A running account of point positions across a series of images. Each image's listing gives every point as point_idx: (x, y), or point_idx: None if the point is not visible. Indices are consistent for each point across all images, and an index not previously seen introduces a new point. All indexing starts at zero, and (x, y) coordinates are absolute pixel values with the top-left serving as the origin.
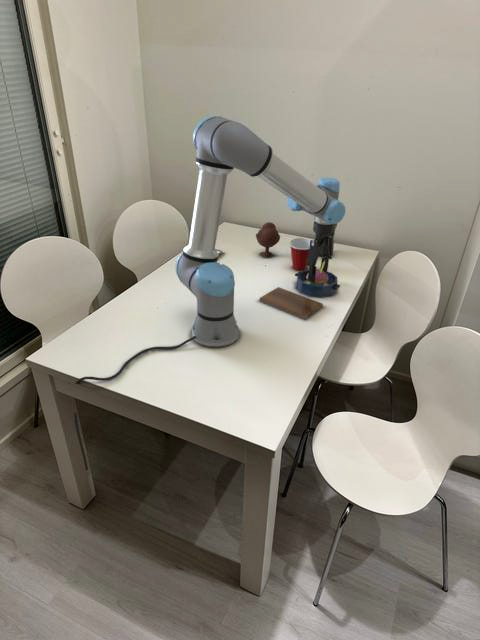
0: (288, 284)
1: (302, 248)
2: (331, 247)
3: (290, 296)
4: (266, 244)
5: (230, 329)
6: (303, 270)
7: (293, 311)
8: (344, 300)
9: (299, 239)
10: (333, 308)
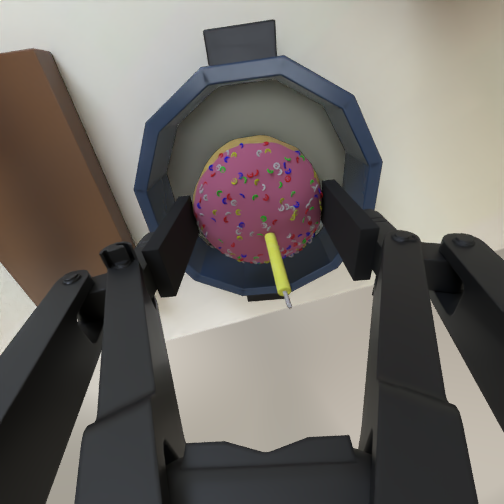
0: (160, 37)
1: None
2: (472, 368)
3: (53, 188)
4: None
5: None
6: (280, 59)
7: (8, 271)
8: (253, 305)
9: None
10: (181, 310)
